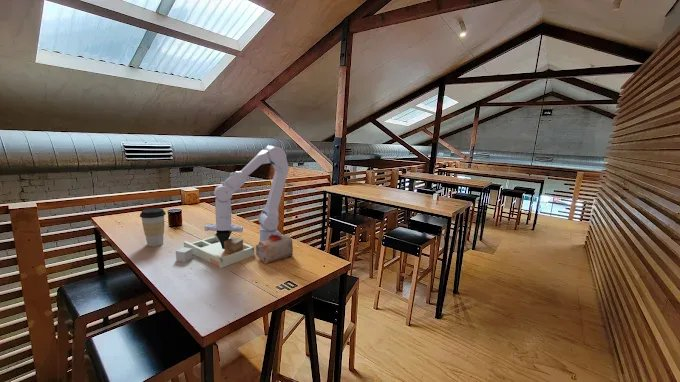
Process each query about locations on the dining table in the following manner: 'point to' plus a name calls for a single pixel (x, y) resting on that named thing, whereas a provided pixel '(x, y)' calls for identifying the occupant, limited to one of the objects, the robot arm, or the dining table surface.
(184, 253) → the grey block
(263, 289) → the dining table surface
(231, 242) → the walnut block
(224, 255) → the tray
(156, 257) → the dining table surface
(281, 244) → the grey-brown rough block
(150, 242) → the coffee cup
